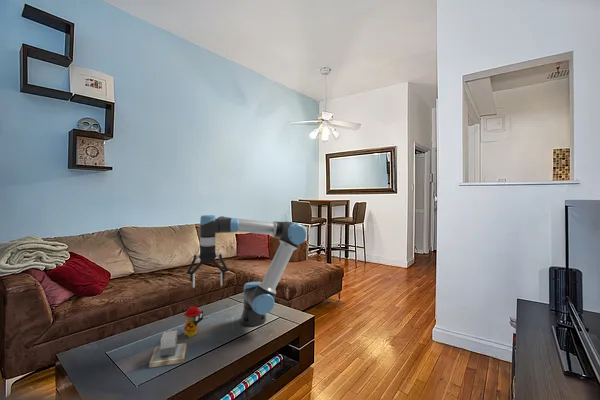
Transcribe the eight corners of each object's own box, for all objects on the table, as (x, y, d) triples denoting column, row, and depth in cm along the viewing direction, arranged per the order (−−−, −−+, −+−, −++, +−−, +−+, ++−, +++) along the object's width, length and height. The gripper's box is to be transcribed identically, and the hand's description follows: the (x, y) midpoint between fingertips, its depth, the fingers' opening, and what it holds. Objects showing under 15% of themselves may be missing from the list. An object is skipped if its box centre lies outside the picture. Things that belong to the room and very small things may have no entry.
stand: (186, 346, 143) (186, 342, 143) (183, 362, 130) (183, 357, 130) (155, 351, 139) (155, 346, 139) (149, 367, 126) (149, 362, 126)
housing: (175, 355, 132) (175, 338, 131) (160, 357, 130) (160, 340, 130) (177, 346, 139) (177, 330, 139) (163, 348, 138) (163, 331, 137)
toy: (194, 340, 150) (194, 311, 150) (178, 338, 152) (178, 310, 152) (205, 330, 161) (205, 303, 161) (190, 328, 163) (191, 302, 163)
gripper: (232, 242, 155) (232, 282, 156) (182, 244, 148) (182, 285, 149) (233, 245, 148) (232, 286, 149) (181, 247, 141) (181, 290, 141)
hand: (207, 286), depth 149 cm, fingers open, 13 cm apart
